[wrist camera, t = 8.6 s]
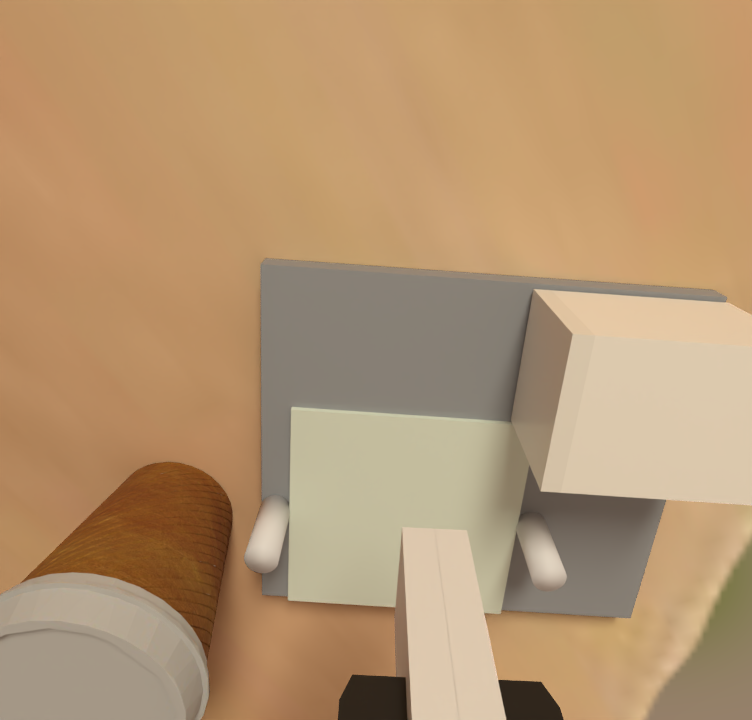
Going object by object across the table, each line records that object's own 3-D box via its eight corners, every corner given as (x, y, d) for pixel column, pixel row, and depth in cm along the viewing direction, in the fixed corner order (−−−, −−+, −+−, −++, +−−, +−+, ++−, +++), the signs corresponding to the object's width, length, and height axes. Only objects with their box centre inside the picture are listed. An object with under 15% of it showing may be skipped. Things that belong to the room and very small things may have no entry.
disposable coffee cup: (281, 563, 34) (231, 777, 23) (126, 588, 35) (6, 805, 24) (233, 420, 31) (147, 589, 20) (62, 451, 32) (-113, 631, 21)
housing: (510, 419, 29) (540, 491, 23) (533, 288, 27) (572, 333, 21) (689, 432, 29) (761, 506, 24) (728, 302, 27) (819, 351, 21)
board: (265, 579, 35) (246, 653, 30) (264, 258, 28) (239, 287, 23) (622, 602, 35) (660, 679, 30) (713, 290, 28) (782, 325, 23)
